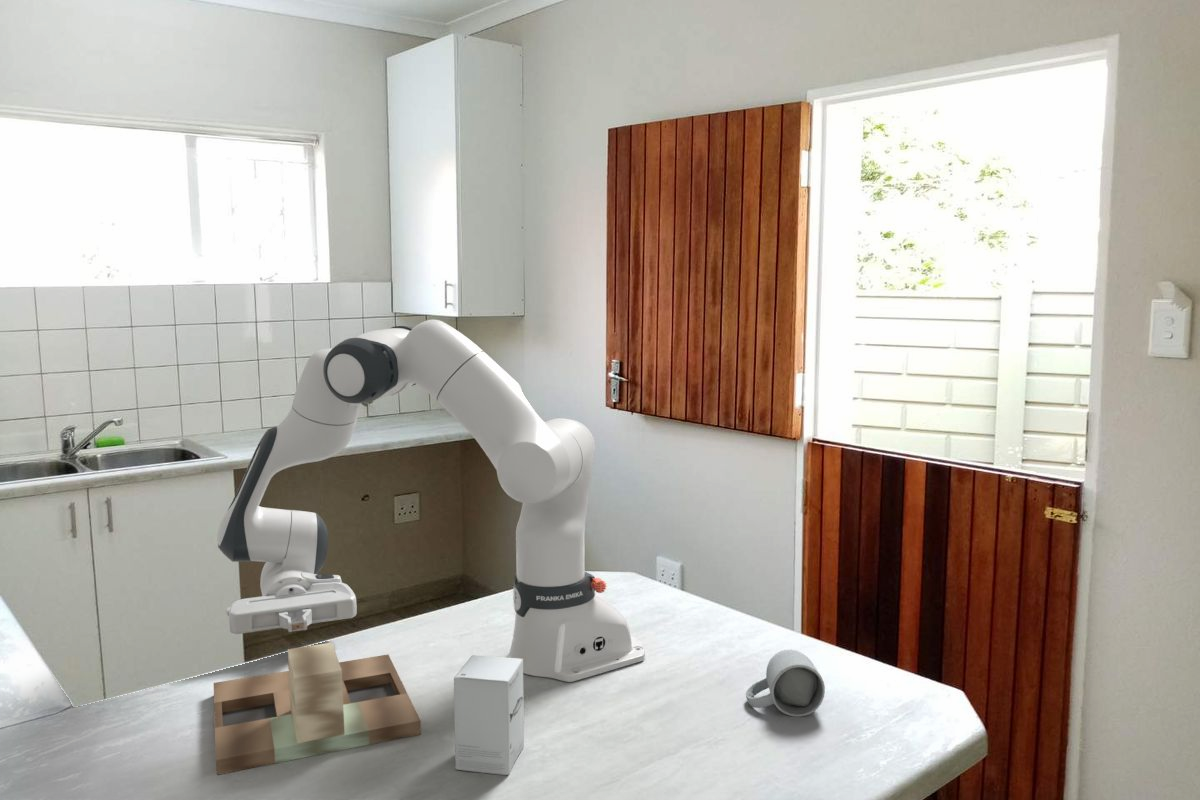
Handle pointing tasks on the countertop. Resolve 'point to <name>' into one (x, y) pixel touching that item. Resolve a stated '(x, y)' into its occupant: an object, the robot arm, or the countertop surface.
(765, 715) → the countertop surface
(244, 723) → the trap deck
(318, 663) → the birch block
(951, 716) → the countertop surface
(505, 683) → the supplement box
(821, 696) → the ceramic mug
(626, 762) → the countertop surface
